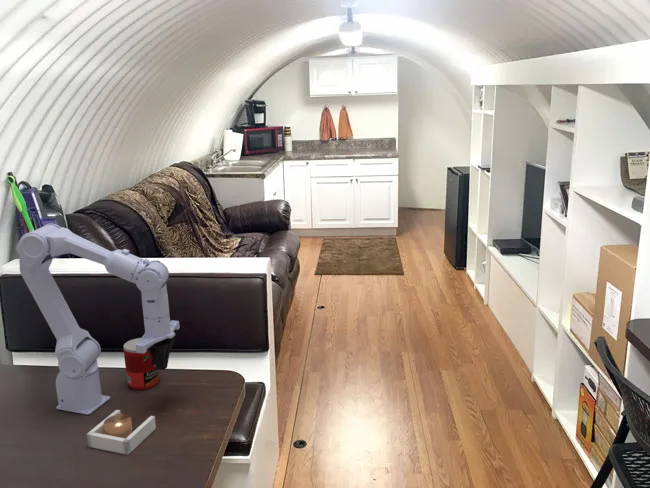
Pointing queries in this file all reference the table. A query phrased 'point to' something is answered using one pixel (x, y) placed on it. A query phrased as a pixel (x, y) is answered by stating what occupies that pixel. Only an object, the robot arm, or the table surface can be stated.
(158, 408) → the table surface
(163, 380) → the table surface
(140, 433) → the u-shaped bracket
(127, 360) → the canned food
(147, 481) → the table surface
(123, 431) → the tan short cylinder
